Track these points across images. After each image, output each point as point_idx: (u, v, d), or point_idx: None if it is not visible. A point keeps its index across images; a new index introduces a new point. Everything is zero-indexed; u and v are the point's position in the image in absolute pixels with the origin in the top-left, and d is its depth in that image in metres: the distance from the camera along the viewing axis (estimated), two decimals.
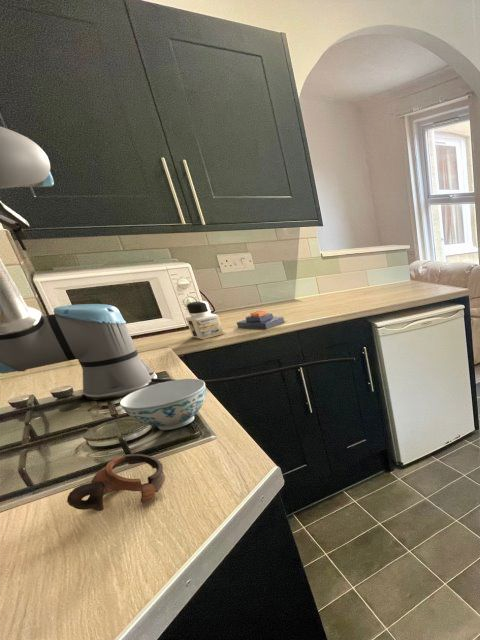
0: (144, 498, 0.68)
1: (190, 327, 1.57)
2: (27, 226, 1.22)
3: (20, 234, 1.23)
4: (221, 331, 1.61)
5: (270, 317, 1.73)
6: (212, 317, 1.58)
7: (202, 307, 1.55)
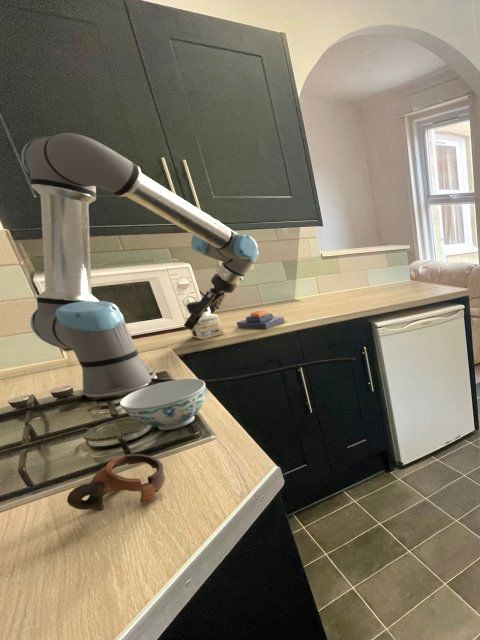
0: (144, 498, 0.68)
1: None
2: (192, 310, 1.49)
3: None
4: (221, 331, 1.61)
5: (270, 317, 1.73)
6: (212, 317, 1.58)
7: None
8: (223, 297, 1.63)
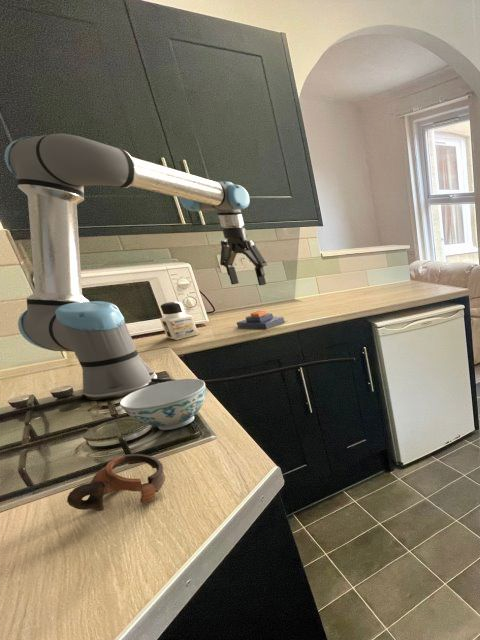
0: (144, 498, 0.68)
1: (164, 328, 1.58)
2: (260, 264, 1.59)
3: (259, 271, 1.61)
4: (196, 332, 1.62)
5: (270, 317, 1.73)
6: (186, 318, 1.58)
7: (176, 308, 1.55)
8: (228, 252, 1.64)
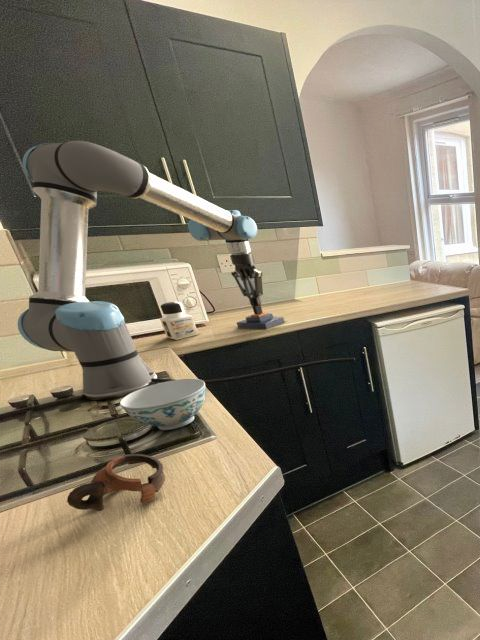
0: (144, 498, 0.68)
1: (164, 328, 1.58)
2: (257, 294, 1.66)
3: (255, 301, 1.68)
4: (196, 332, 1.62)
5: (270, 317, 1.73)
6: (186, 318, 1.58)
7: (176, 308, 1.55)
8: None
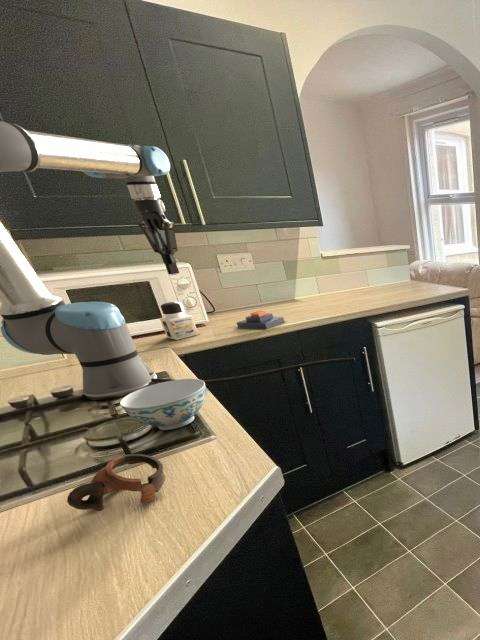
0: (144, 498, 0.68)
1: (164, 328, 1.58)
2: (169, 250, 1.40)
3: (169, 258, 1.42)
4: (196, 332, 1.62)
5: (270, 317, 1.73)
6: (186, 318, 1.58)
7: (176, 308, 1.55)
8: None
